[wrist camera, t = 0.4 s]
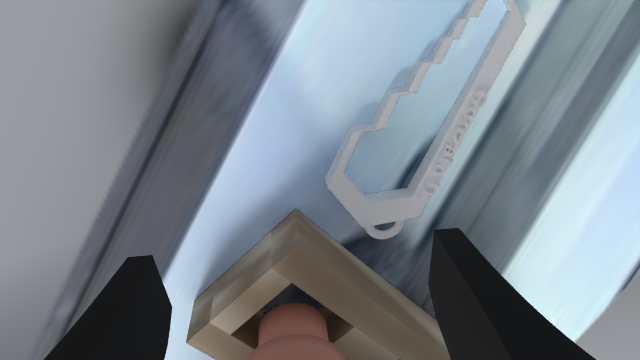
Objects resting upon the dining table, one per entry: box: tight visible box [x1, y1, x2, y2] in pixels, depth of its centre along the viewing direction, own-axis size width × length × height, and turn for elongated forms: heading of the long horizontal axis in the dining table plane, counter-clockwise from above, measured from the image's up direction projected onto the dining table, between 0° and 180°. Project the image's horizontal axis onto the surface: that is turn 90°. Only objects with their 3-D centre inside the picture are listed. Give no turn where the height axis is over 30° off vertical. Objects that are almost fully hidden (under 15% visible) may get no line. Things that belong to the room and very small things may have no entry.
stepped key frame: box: [325, 0, 526, 239], centre depth 22 cm, size 13×5×2 cm, turn 157°
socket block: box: [186, 209, 451, 360], centre depth 27 cm, size 8×15×3 cm, turn 44°
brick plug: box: [246, 302, 346, 360], centre depth 23 cm, size 5×5×4 cm
